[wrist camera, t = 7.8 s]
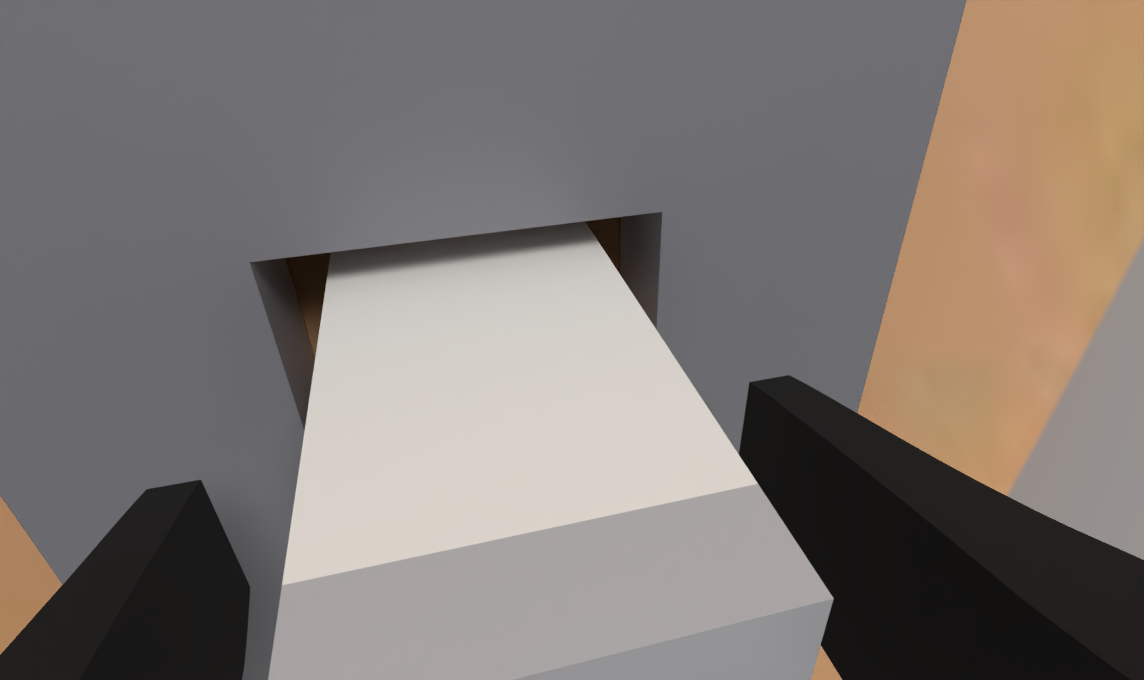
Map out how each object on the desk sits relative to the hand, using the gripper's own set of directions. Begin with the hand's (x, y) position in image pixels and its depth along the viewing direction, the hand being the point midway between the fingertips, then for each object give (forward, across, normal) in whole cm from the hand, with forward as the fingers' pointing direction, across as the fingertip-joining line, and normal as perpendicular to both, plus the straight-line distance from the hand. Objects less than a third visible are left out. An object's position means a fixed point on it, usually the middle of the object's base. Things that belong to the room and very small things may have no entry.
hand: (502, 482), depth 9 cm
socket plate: (+4, 0, 0) cm, 4 cm away
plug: (+4, 0, 0) cm, 4 cm away
